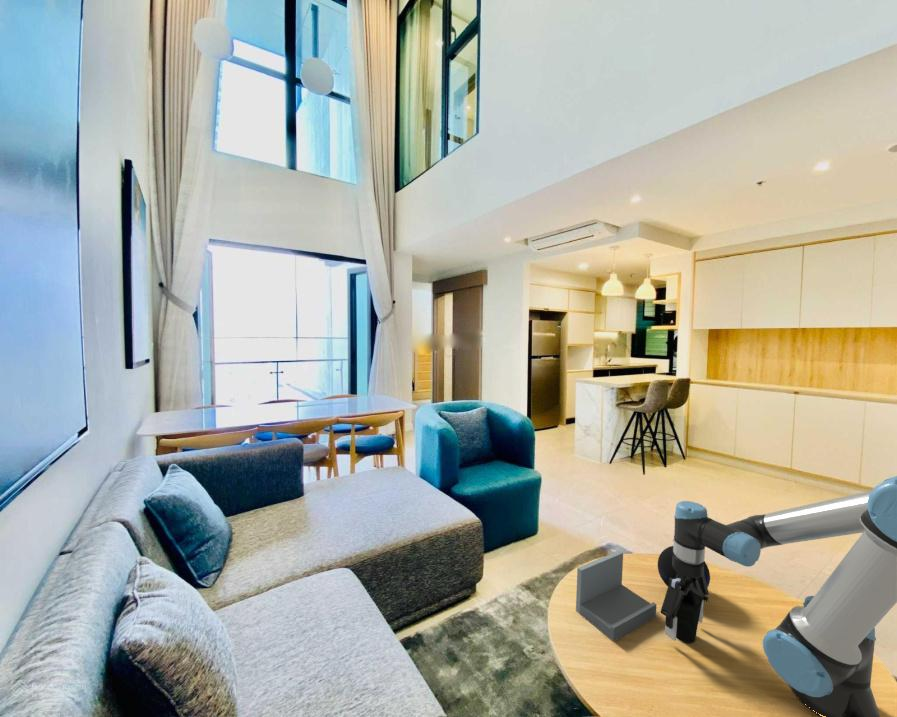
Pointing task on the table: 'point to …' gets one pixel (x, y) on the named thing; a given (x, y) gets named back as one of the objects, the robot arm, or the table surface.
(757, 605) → the table surface
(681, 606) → the cup
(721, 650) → the table surface
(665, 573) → the decorative sphere
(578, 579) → the shelf
